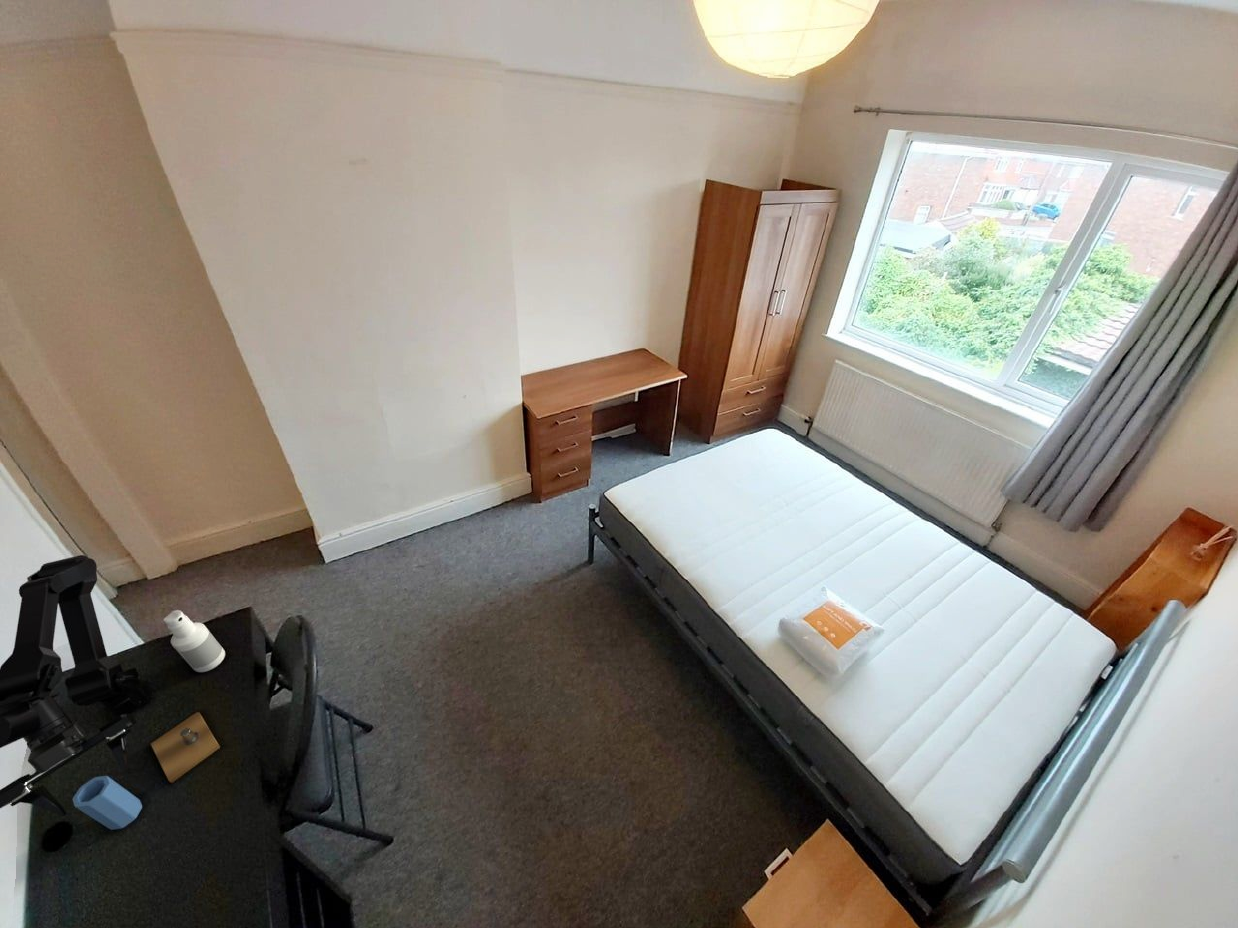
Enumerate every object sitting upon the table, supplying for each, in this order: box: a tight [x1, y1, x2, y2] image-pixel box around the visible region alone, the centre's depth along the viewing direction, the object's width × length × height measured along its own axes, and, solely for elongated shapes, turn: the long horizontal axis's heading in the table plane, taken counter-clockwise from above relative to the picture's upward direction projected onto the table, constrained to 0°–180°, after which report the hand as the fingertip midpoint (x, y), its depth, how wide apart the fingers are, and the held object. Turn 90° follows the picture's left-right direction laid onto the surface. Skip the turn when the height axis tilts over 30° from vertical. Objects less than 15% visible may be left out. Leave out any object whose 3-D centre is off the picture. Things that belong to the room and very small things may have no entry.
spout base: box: [150, 711, 221, 784], centre depth 107 cm, size 12×9×4 cm
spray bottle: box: [163, 609, 226, 673], centre depth 121 cm, size 7×7×18 cm
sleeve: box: [72, 775, 143, 831], centre depth 95 cm, size 5×5×11 cm
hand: (97, 792), depth 94 cm, fingers open, 9 cm apart
